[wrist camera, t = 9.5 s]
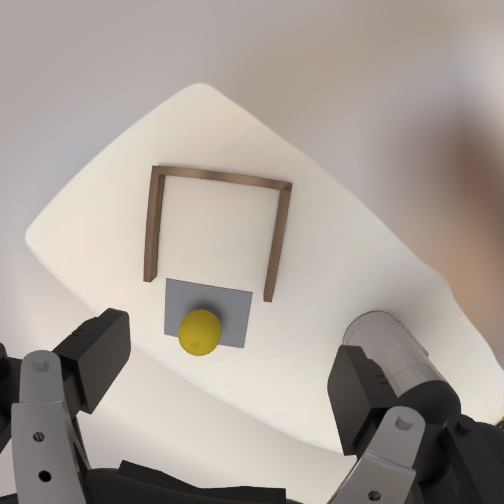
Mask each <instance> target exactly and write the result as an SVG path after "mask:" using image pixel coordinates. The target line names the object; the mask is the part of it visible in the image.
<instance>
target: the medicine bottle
mask: <svg viewBox="0 0 504 504" xmlns="http://www.w3.org/2000/svg"><path fill="white" fill-rule="evenodd" d="M495 426H496V427H498V428H500V429H502V430H504V417H503V418H502V419H501V420H500V421H499V422H498V423H497V424H496V425H495Z"/></svg>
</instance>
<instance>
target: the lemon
mask: <svg viewBox="0 0 504 504" xmlns="http://www.w3.org/2000/svg"><path fill="white" fill-rule="evenodd" d="M221 332H222V329H221V324H220V322H219V320H218V318H217V317H216V316H215V315H214V314H213V313H211V312H210V311H207V310H203V309H200V310H194V311H192V312H190V313H188V314H187V315H186V316H185V317H184V318H183V319H182V321H181V323H180V326H179V331H178V338H179V342H180V344H181V346H182V347H183V349H184V350H185V351H186V352H188V353H190V354H192V355H195V356H203V355H206V354H209V353H210V352H212V351H213V350H214V349H215V348H216V346H217V345H218V343H219V341H220V338H221Z"/></svg>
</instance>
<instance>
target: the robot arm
mask: <svg viewBox="0 0 504 504" xmlns="http://www.w3.org/2000/svg"><path fill="white" fill-rule="evenodd" d="M130 351H131V342H130V326H129V315H128V313H127V312H125V311H121V310H117V309H112V308H108V309H107V310H106V311H104V312H103V313H102V314H101V315H100V316H99V317H94V318H92V319H89V320H87V321H85V322H83V323H82V324H81V325H80V326H79V327H78V328H77V329H76V330H74V331H73V332H72V334H71V335H69V336H68V337H67V338H66V339H65V340H63V341H62V342H61V343H60V344H59V345H58V346H57V347H56V348H55V349H53V351H51V352H50V351H46V350H38V351H34V352H31V353H29V354H28V355H26V356H25V357H24V358H23V360H22V359H16V358H11V357H8V356H7V353H6V350H5V347H4V345H3V344H2V343H0V453H1V452H2V450H3V449H4V447H5V446H6V444H7V443H8V441H9V440H10V439H11V437H12V454H13V465H14V475H15V482H16V489H17V493H14V494H10V495H6V496H2V497H0V504H303V503H300V502H297V501H294V500H291V499H286V489H285V488H265V487H251V486H240V487H226V488H198V487H195V486H192V485H190V484H188V483H185V482H183V481H181V480H178V479H176V478H174V477H172V476H170V475H168V474H165V473H163V472H161V471H158V470H155V469H151V468H147V467H144V466H141V465H137V464H134V463H131V462H128V461H125V460H122V462H121V464H120V467H119V469H115V468H97V469H92V468H91V466H90V463H89V461H88V458H87V455H86V451H85V447H84V443H83V440H82V436H81V432H80V428H79V423H78V419H77V417H76V415H77V413H78V412H79V411H80V410H81V411H83V412H86V413H88V414H92V413H93V411H94V410H95V408H96V407H97V405H98V404H99V402H100V400H101V399H102V398H103V396H104V395H105V393H106V392H107V390H108V389H109V387H110V386H111V384H112V383H113V381H114V380H115V378H116V377H117V376H118V374H119V373H120V371H121V370H122V368H123V367H124V365H125V364H126V362H127V361H128V359H129V356H130ZM327 390H328V395H329V399H330V402H331V406H332V410H333V414H334V417H335V421H336V425H337V429H338V433H339V437H340V441H341V445H342V449H343V453H344V455H345V456H348V455H356V456H357V461H356V463H355V464H354V466H353V467H352V469H351V470H350V472H349V473H348V475H347V476H346V478H345V479H344V481H343V482H342V483H341V485H340V486H339V488H338V489H337V490H336V492H335V493H334V495H333V496H332V497H331V499H330V500H329V501H328V503H327V504H504V430H502V429H500V428H498V427H496V426H494V425H491V424H487V423H483V422H475V421H474V420H473V419H472V418H470V417H468V416H466V415H463V414H461V403H460V399H459V397H458V395H457V394H456V392H455V391H454V390H453V388H452V387H451V386H450V385H449V383H448V382H447V381H446V380H445V378H444V377H443V376H442V375H441V373H440V372H439V371H438V370H437V369H436V367H435V366H434V365H433V364H432V362H431V361H430V360H429V359H428V352H427V351H426V350H425V349H424V347H423V346H422V345H421V344H420V343H419V342H418V341H417V339H416V338H415V337H414V336H413V335H412V334H411V333H410V332H409V330H408V329H407V328H406V327H405V326H404V325H403V324H402V323H401V322H397V321H396V320H395V319H394V318H393V317H392V316H391V315H389V314H388V313H385V312H380V311H376V312H370V313H367V314H364V315H362V316H361V317H359V318H358V319H356V320H355V321H354V322H353V323H352V324H351V325H350V326H349V328H348V329H347V331H346V333H345V336H344V340H343V345H341V346H340V347H339V349H338V352H337V355H336V358H335V361H334V364H333V367H332V369H331V372H330V375H329V379H328V385H327Z"/></svg>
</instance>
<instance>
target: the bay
mask: <svg viewBox="0 0 504 504" xmlns="http://www.w3.org/2000/svg"><path fill="white" fill-rule="evenodd" d="M165 175H172V176H182V177H192V178H200V179H209V180H217V181H225V182H232V183H240V184H247V185H254V186H260V187H267V188H273V189H279V190H281V192H280V198H279V205H278V211H277V217H276V223H275V229H274V235H273V242H272V248H271V253H270V259H269V265H268V271H267V277H266V283H265V289H264V301H265V302H272V297H273V292H274V286H275V281H276V275H277V270H278V264H279V259H280V253H281V247H282V241H283V236H284V230H285V224H286V218H287V212H288V206H289V200H290V193H291V187H292V183H289V182H283V181H277V180H271V179H264V178H258V177H251V176H244V175H237V174H229V173H221V172H213V171H204V170H195V169H186V168H175V167H164V166H152V173H151V181H150V190H149V200H148V210H147V222H146V236H145V253H144V279H143V281H145V282H151V281H152V280H153V279H154V278H156V276H157V257H158V242H159V229H160V218H161V207H162V198H163V189H164V181H165Z"/></svg>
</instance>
